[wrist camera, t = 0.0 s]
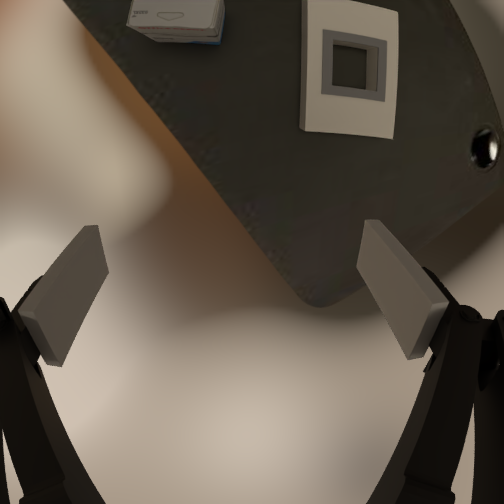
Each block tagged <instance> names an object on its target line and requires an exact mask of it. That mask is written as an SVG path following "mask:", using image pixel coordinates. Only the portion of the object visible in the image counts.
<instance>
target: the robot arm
mask: <svg viewBox="0 0 504 504" xmlns="http://www.w3.org/2000/svg"><path fill="white" fill-rule="evenodd" d="M357 269H358V271H359V272H360V274H361V276H362V278H363V279H364V281H365V283H366V284H367V286H368V288H369V290H370V291H371V293H372V295H373V297H374V298H375V300H376V302H377V304H378V306H379V307H380V309H381V311H382V313H383V314H384V316H385V318H386V320H387V322H388V324H389V326H390V327H391V329H392V331H393V333H394V335H395V337H396V339H397V341H398V342H399V344H400V346H401V348H402V350H403V352H404V354H405V356H406V358H407V360H411V359H416V358H421V357H423V356H424V355H425V353H426V351H427V349H428V347H430V348H431V350H432V352H433V354H432V356H431V358H430V360H429V361H428V363H427V365H426V367H425V369H424V371H423V372H425V376H424V379H423V382H422V384H421V387H420V390H419V393H418V396H417V398H416V401H415V404H414V406H413V409H412V411H411V414H410V417H409V419H408V421H407V424H406V426H405V428H404V431H403V433H402V436H401V438H400V440H399V442H398V445H397V447H396V449H395V451H394V453H393V455H392V457H391V460H390V461H389V463H388V465H387V467H386V469H385V471H384V473H383V475H382V477H381V479H380V481H379V482H378V484H377V486H376V488H375V490H374V492H373V493H372V495H371V497H370V498H369V500H368V502H367V503H366V504H454V502H455V494H454V493H453V492H452V491H451V486H452V482H453V479H454V476H455V473H456V470H457V467H458V464H459V461H460V457H461V454H462V450H463V447H464V443H465V438H466V434H467V431H468V427H469V422H470V418H471V413H472V408H473V403H474V422H475V457H474V458H475V459H474V478H473V490H472V501H471V504H504V310H500V311H498V313H497V314H496V316H495V319H494V320H491V319H483V318H482V316H481V315H480V313H479V312H478V311H477V310H475V309H474V308H472V307H470V306H467V305H459V303H458V302H457V301H456V300H455V298H454V297H453V296H452V295H451V294H450V292H449V291H448V290H447V288H446V287H444V285H443V284H442V282H440V281H439V279H438V278H437V276H436V275H435V274H434V273H433V272H431V271H430V270H428V269H427V268H425V267H420V266H419V264H418V263H417V262H416V261H415V259H414V258H413V257H412V256H411V255H410V254H409V253H408V251H407V250H406V249H405V248H404V247H403V246H402V245H401V243H400V242H399V241H398V240H397V239H396V238H395V237H394V236H393V235H392V234H391V232H390V231H389V230H388V229H387V228H386V227H385V226H384V225H383V224H382V223H381V222H380V221H379V220H365V224H364V230H363V235H362V241H361V246H360V252H359V257H358V262H357ZM108 273H109V271H108V267H107V263H106V259H105V255H104V251H103V246H102V242H101V238H100V233H99V228H98V225H91V226H84V227H83V228H82V230H81V231H80V232H79V233H78V234H77V235H76V236H75V238H74V239H73V240H72V241H71V242H70V244H69V245H68V246H67V247H66V248H65V249H64V250H63V252H62V253H61V254H60V256H59V257H58V258H57V259H56V260H55V261H54V263H53V264H52V265H51V266H50V268H49V269H48V270H47V272H46V273H45V274H44V275H43V276H40V277H39V278H38V279H37V280H35V281H34V282H33V283H32V284H31V286H30V287H29V289H28V291H26V292H25V294H24V296H23V297H22V298H21V299H20V301H19V302H18V303H17V305H16V306H15V307H14V309H13V310H12V312H10V311H9V308H8V306H7V304H6V302H5V300H4V298H2V297H0V504H10V500H9V495H8V488H7V482H6V473H5V463H4V452H3V433H2V429H3V432H4V436H5V440H6V443H7V446H8V450H9V453H10V456H11V460H12V463H13V465H14V468H15V471H16V474H17V477H18V480H19V482H20V485H21V487H22V490H23V493H24V497H22V498H21V499H20V500H19V504H106V503H105V502H104V500H103V499H102V497H101V495H100V494H99V492H98V491H97V489H96V487H95V486H94V484H93V482H92V481H91V479H90V477H89V475H88V473H87V472H86V470H85V468H84V466H83V464H82V463H81V461H80V459H79V457H78V455H77V453H76V451H75V449H74V447H73V445H72V443H71V441H70V439H69V437H68V435H67V433H66V431H65V428H64V426H63V424H62V421H61V419H60V417H59V415H58V412H57V410H56V407H55V405H54V403H53V400H52V397H51V395H50V393H49V389H48V387H47V384H46V381H45V378H44V375H43V373H42V370H41V367H40V365H39V364H38V362H37V361H38V359H39V356H40V355H41V356H42V358H43V359H44V361H45V362H46V364H47V365H52V366H58V367H62V365H63V363H64V361H65V359H66V356H67V354H68V352H69V350H70V347H71V345H72V343H73V341H74V339H75V337H76V335H77V332H78V331H79V329H80V327H81V325H82V322H83V320H84V318H85V316H86V314H87V313H88V310H89V309H90V307H91V305H92V303H93V301H94V299H95V297H96V295H97V293H98V291H99V290H100V288H101V286H102V284H103V282H104V280H105V279H106V276H107V275H108Z"/></svg>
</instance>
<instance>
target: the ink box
mask: <svg viewBox="0 0 504 504" xmlns="http://www.w3.org/2000/svg"><path fill="white" fill-rule="evenodd" d="M224 21H225V7H224V0H132V3H131V7H130V11H129V16H128V21H127V24H126V26H129V27H131V28H133V29H135V30H136V31H138V32H140V33H142V34H144V35H145V36H147V37H149V38H151V39H153V40H154V41H156V42H182V43H200V44H213V45H220V44H221V39H222V33H223V27H224Z"/></svg>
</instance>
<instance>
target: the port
mask: <svg viewBox="0 0 504 504" xmlns="http://www.w3.org/2000/svg"><path fill="white" fill-rule="evenodd" d="M333 44H334V45H341V46H348V47H354V48H360V49H365V50H367V65H366V90H363V89H356V88H349V87H341V86H332V66H333ZM397 76H398V12H396V11H392V10H388V9H385V8H381V7H377V6H373V5H368V4H364V3H359V2H355V1H350V0H302V46H301V94H300V123H299V128H301V129H302V130H304V131H312V132H328V133H342V134H353V135H363V136H373V137H381V138H390V139H393V132H394V121H395V109H396V95H397Z"/></svg>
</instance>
